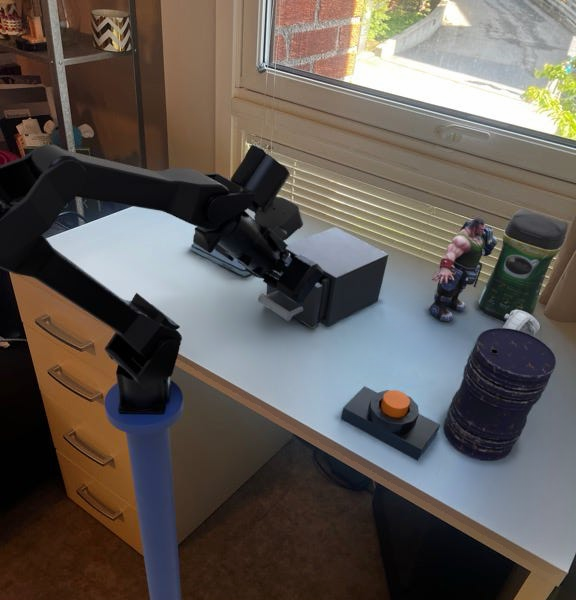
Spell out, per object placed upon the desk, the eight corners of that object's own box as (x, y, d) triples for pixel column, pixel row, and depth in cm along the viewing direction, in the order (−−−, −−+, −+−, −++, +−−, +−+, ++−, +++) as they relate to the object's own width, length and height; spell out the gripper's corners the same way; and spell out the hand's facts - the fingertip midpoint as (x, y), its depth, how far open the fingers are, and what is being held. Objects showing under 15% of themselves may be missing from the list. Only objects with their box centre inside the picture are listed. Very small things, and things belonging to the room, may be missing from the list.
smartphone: (216, 233, 114) (271, 258, 107) (216, 240, 115) (270, 266, 108) (188, 244, 109) (244, 271, 102) (188, 252, 110) (244, 279, 103)
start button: (375, 409, 74) (378, 400, 73) (388, 395, 77) (390, 386, 76) (399, 422, 73) (402, 412, 72) (411, 407, 75) (414, 398, 74)
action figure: (437, 341, 94) (470, 243, 82) (404, 324, 97) (431, 227, 85) (488, 299, 106) (523, 209, 94) (457, 285, 109) (488, 196, 97)
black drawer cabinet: (327, 327, 94) (336, 277, 88) (277, 294, 101) (281, 246, 94) (377, 301, 102) (388, 254, 96) (328, 272, 108) (335, 226, 102)
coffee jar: (535, 312, 104) (578, 218, 92) (522, 330, 99) (566, 233, 87) (486, 292, 108) (521, 200, 96) (471, 309, 103) (506, 214, 91)
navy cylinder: (494, 409, 82) (533, 326, 72) (526, 459, 75) (573, 375, 65) (432, 412, 80) (462, 328, 71) (458, 464, 73) (496, 378, 63)
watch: (523, 370, 90) (550, 313, 83) (501, 391, 85) (527, 334, 78) (492, 353, 93) (516, 297, 86) (469, 373, 88) (492, 316, 81)
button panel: (339, 419, 78) (344, 398, 75) (362, 396, 82) (367, 375, 79) (417, 462, 73) (424, 441, 70) (437, 434, 77) (444, 414, 74)
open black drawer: (294, 337, 90) (299, 296, 85) (248, 305, 95) (250, 265, 90) (360, 303, 99) (368, 265, 94) (314, 276, 105) (320, 238, 100)
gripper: (322, 212, 72) (362, 263, 85) (230, 165, 81) (279, 218, 95) (273, 283, 73) (320, 323, 86) (188, 229, 82) (242, 272, 95)
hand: (290, 280), depth 91 cm, fingers closed, pressing on open black drawer
